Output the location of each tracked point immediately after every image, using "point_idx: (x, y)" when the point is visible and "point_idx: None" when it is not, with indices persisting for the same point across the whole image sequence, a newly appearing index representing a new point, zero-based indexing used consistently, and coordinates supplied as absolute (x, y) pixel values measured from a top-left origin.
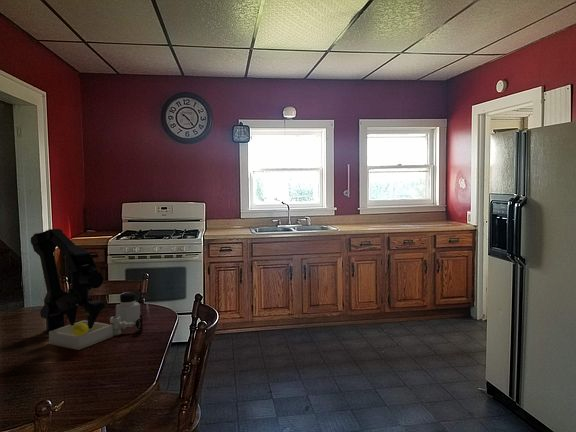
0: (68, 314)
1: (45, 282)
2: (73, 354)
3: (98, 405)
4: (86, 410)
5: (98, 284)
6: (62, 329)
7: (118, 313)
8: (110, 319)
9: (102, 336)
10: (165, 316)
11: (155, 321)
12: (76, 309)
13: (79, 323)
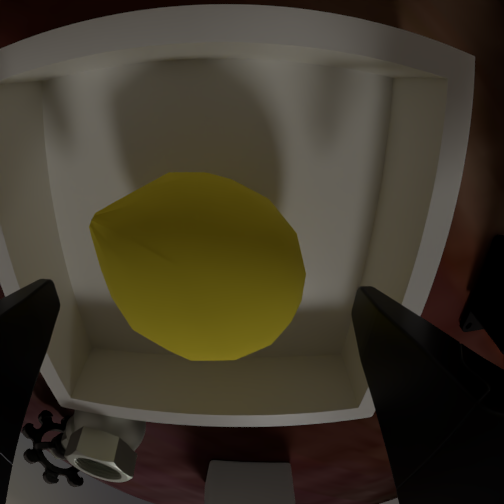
0: (458, 380)
1: None
2: (15, 3)
3: None
4: None
5: None
6: (420, 199)
7: (272, 498)
8: (105, 452)
9: None
10: (164, 499)
11: (142, 480)
12: (401, 498)
13: (181, 308)
